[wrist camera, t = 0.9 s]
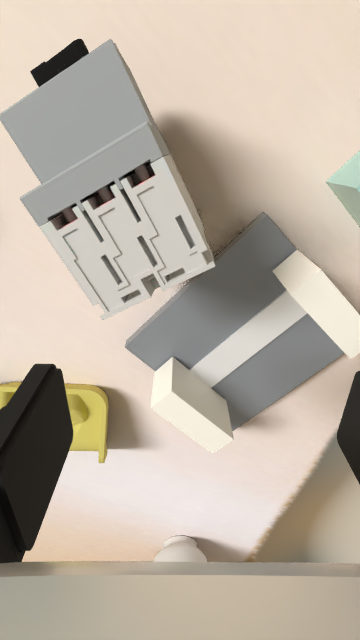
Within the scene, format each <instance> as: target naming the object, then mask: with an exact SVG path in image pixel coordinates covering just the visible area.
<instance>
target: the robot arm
mask: <svg viewBox="0 0 360 640" xmlns="http://www.w3.org/2000/svg"><path fill="white" fill-rule="evenodd" d="M337 440H338V444H339V446H340V448H341V450H342V452H343V453H344V455H345V457H346V459H347V461H348V463H349V465H350V467H351V469H352V471H353V472H354V474H355V476H356V478H357V480H358V482H359V484H360V371H358V372H356V374H355V377H354V380H353V383H352V386H351V390H350V393H349V396H348V399H347V403H346V406H345V409H344V412H343V416H342V419H341V422H340V425H339V429H338V432H337ZM72 441H73V426H72V421H71V416H70V411H69V405H68V400H67V395H66V390H65V385H64V380H63V374H62V371H61V369H57V368H56V366H55V365H54V364H35V365H34V366H33V367H32V368H31V370H30V371H29V373H28V374H27V376H26V377H25V379H24V380H23V381H22V383H21V384H20V386H19V387H18V389H17V390H16V392H15V393H14V395H13V396H12V398H11V399H10V401H9V402H8V403H7V405H6V406H4V407H2V408H1V409H0V640H360V564H346V563H274V562H273V563H271V562H155V561H63V562H21V561H22V559H23V556H24V553H25V551H30V550H31V549H32V547H33V545H34V543H35V540H36V538H37V535H38V532H39V530H40V527H41V524H42V521H43V519H44V516H45V513H46V511H47V508H48V505H49V503H50V500H51V497H52V495H53V492H54V489H55V487H56V484H57V481H58V479H59V476H60V473H61V471H62V468H63V465H64V463H65V460H66V457H67V455H68V452H69V449H70V447H71V444H72Z"/></svg>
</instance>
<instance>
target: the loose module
mask: <svg viewBox="0 0 360 640" xmlns="http://www.w3.org/2000/svg"><path fill="white" fill-rule="evenodd" d="M326 183H327V184H328V186H329V187H330V188H331V189H332V191H333V192H334V193H335V195H336V196H337V197H338V199H339V200H340V201H341V203H342V204H343V205H344V207H345V208H346V209H347V211H348V212H349V213H350V215H351V216H352V217H353V219H354V220H355V221H356V223H357V224H358V225H359V227H360V151H359V152H358V153H357V154H355V155H354V156H353V157H352V158H351V159H350V160H349V161H348V162H347V163H346V164H344V165H343V166H342V167H341V168H340V169H339V170H338V171H337V172H336V173H335V174H333V175H332V176H331V177H330V178H329V179H328V180H327V181H326Z"/></svg>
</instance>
